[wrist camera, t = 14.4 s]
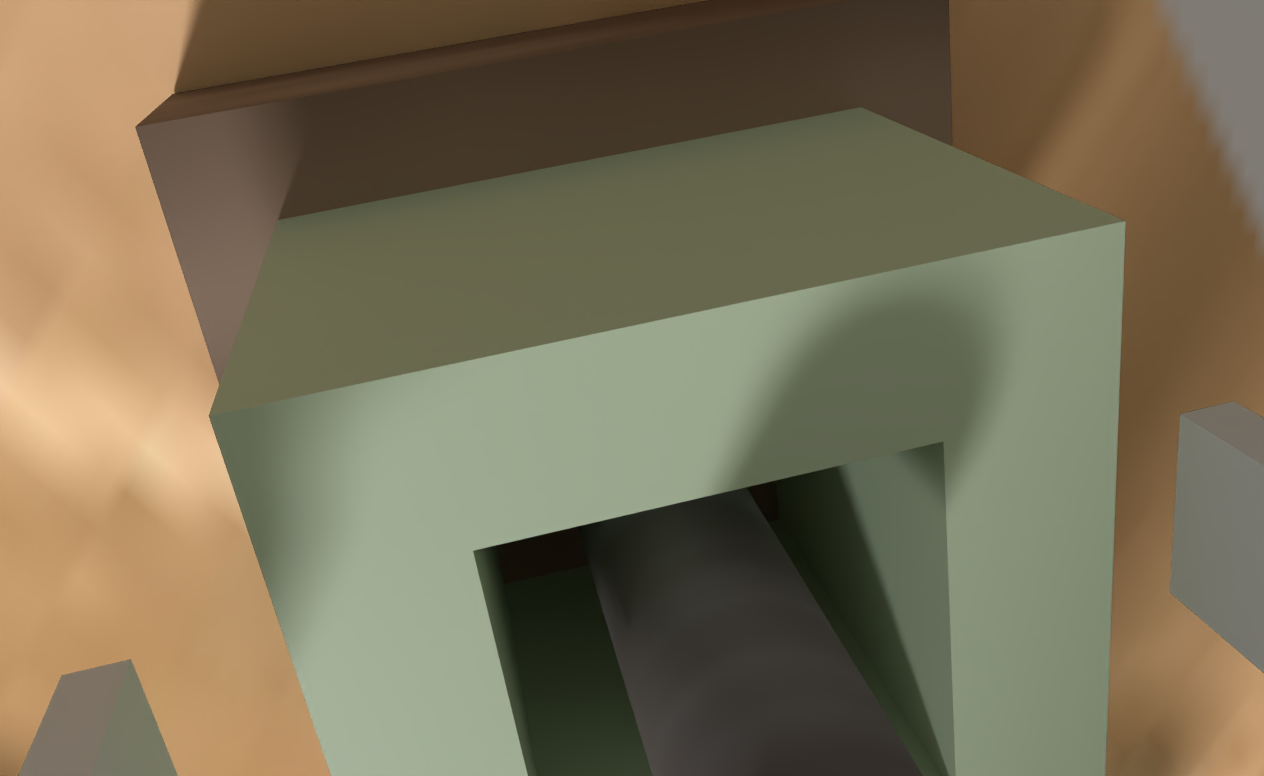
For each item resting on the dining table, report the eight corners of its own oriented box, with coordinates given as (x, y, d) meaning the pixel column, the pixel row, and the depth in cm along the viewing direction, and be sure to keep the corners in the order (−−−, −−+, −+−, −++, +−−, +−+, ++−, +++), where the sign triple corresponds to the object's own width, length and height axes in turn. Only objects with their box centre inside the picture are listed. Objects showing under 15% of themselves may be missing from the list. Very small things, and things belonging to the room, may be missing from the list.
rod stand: (901, 547, 25) (1449, 1238, 12) (353, 679, 23) (309, 1621, 11) (872, -29, 20) (1755, 96, 7) (173, 94, 18) (-327, 532, 6)
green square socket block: (890, 585, 21) (1101, 871, 15) (416, 702, 20) (429, 1063, 14) (861, 106, 18) (1125, 221, 11) (278, 220, 17) (209, 415, 10)
